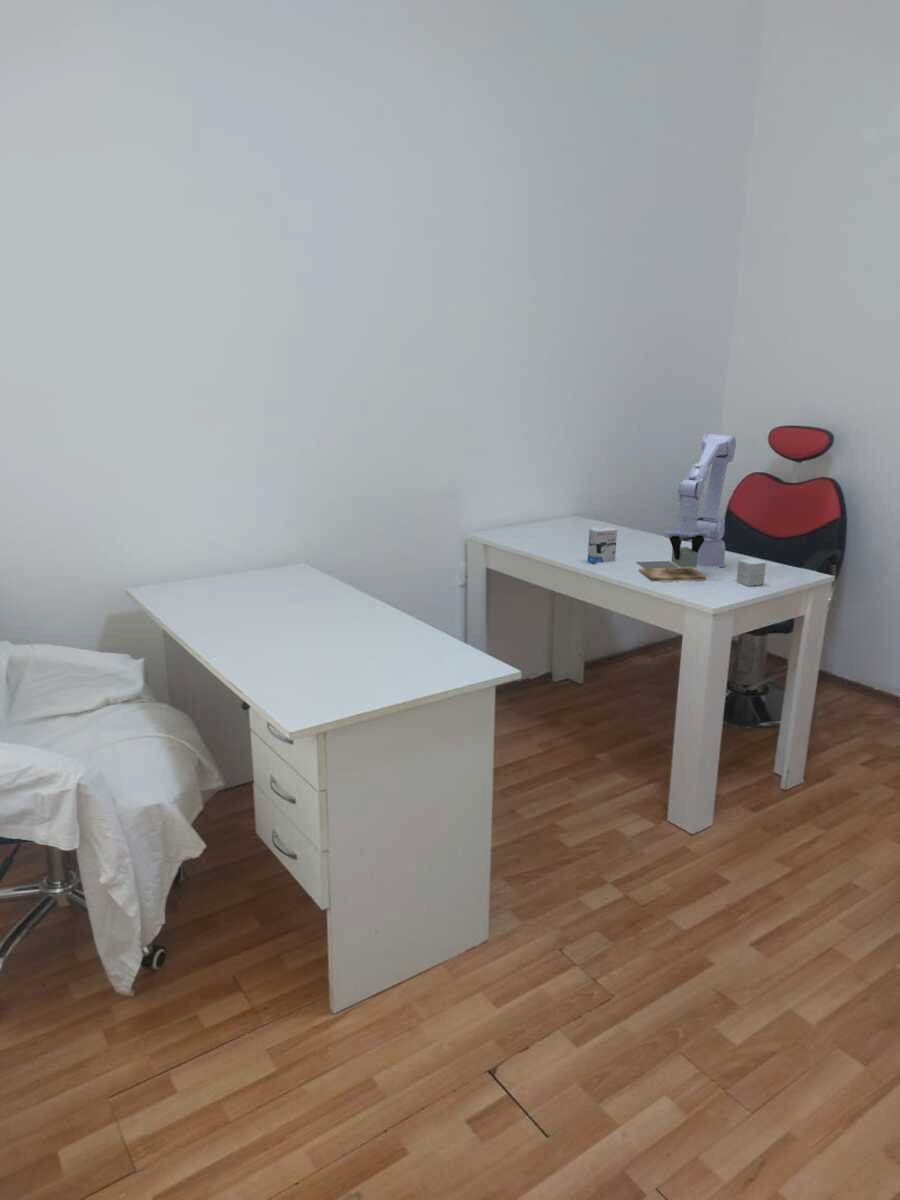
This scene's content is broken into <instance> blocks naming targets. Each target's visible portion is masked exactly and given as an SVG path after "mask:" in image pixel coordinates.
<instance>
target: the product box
mask: <svg viewBox="0 0 900 1200" xmlns="http://www.w3.org/2000/svg"><path fill="white" fill-rule="evenodd" d="M766 566H767V563H766V562H765V561H762V560H759V559H756V558H754V557H753V558H746V559H738V563H737V573H736V583H738V584H741V585H744V586H746V587H755V586H754V585H756V586H762V585H761V584H763V585H765V577H766V576H765V575H766V568H767V567H766Z"/></svg>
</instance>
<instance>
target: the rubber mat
mask: <svg viewBox="0 0 900 1200" xmlns="http://www.w3.org/2000/svg"><path fill="white" fill-rule="evenodd" d="M635 563H636V564H637V565H639V566H640V567H641V568H642V569H648V568H680V567H678V566H677V565H675V564H674V563H672V562H671V561H670V560H662V561H661V560H658V561H656V560H655V561H635Z"/></svg>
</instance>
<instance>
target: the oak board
mask: <svg viewBox="0 0 900 1200" xmlns="http://www.w3.org/2000/svg"><path fill="white" fill-rule="evenodd" d="M638 572H639V573H640V574H641V575H643V576H644V577H645V578H647V579H648V580H649V581H650V582H667V583H674V582H673V581H676V582H675V583H679V582H678V581H700V582H706V581H707V580H706V579H707V576H706V575H704V574H702V573H701V572H700V571H698V570H697V569H696V568H687V569H681V568H680V567H679V568H648V569H644V568H638Z"/></svg>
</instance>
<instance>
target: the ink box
mask: <svg viewBox="0 0 900 1200" xmlns="http://www.w3.org/2000/svg"><path fill="white" fill-rule="evenodd" d="M617 534H618V530H617V529H616V528H613V527H612V526H602V527H601V526H600V527H591V528H589V529H588V549H587V562H589V563H591V564H592V565H597V563H610V562H616V556H617V555H616V554H617V553H616V551H617V537H618V536H617Z"/></svg>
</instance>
